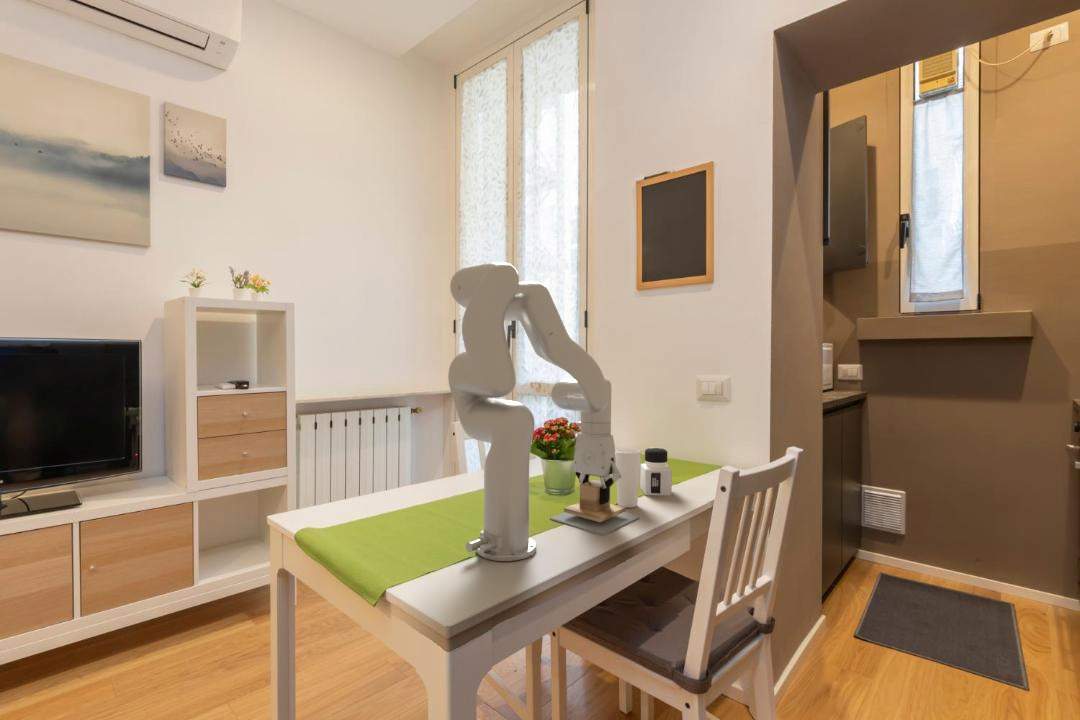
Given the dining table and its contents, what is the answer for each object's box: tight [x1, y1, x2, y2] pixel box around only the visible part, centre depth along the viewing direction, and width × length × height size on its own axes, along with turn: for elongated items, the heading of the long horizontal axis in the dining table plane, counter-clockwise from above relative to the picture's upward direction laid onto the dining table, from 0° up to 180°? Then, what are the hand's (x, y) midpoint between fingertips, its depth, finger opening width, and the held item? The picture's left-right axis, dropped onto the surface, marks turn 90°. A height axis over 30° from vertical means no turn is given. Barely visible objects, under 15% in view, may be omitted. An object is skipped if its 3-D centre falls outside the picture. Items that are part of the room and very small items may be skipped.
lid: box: [563, 479, 627, 522], centre depth 129 cm, size 11×11×7 cm
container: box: [639, 447, 673, 497], centre depth 154 cm, size 8×8×13 cm
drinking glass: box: [615, 447, 642, 509], centre depth 140 cm, size 7×7×15 cm
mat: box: [549, 511, 641, 536], centre depth 130 cm, size 16×16×1 cm
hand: (594, 500), depth 129 cm, fingers closed on lid, 4 cm apart
